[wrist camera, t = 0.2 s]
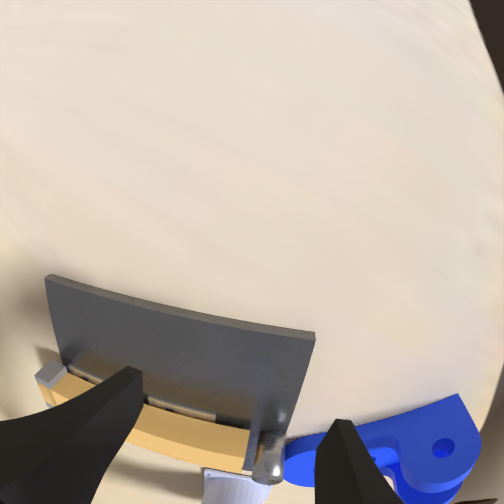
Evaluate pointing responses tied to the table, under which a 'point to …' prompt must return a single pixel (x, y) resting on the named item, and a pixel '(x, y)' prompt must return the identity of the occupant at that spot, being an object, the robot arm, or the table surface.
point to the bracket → (407, 451)
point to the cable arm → (159, 426)
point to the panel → (188, 363)
